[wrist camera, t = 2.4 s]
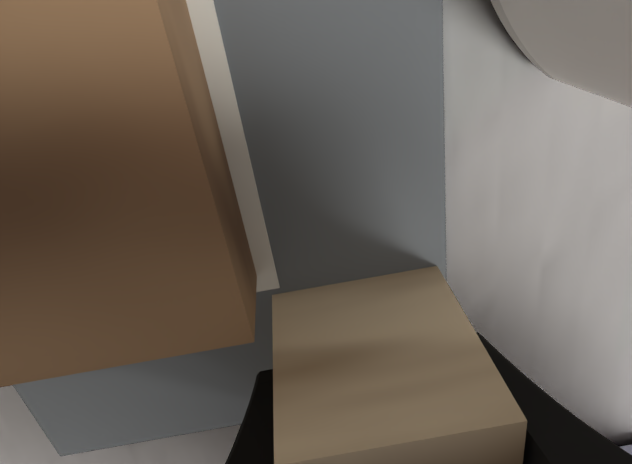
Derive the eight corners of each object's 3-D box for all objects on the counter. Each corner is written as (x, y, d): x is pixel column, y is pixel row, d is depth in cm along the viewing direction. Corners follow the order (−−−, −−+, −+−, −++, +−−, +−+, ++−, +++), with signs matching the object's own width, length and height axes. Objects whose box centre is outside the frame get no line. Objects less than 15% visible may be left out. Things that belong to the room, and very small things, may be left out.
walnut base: (256, 275, 12) (254, 342, 10) (-11, 322, 12) (-74, 399, 10) (177, -32, 9) (146, -35, 6) (-197, 32, 9) (-357, 51, 6)
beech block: (440, 383, 15) (512, 555, 10) (299, 408, 15) (313, 590, 10) (436, 265, 13) (527, 420, 8) (271, 295, 12) (274, 466, 8)
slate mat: (443, 377, 15) (448, 389, 15) (65, 445, 15) (58, 459, 15) (432, -175, 8) (441, -183, 8) (-260, -57, 8) (-289, -58, 8)
